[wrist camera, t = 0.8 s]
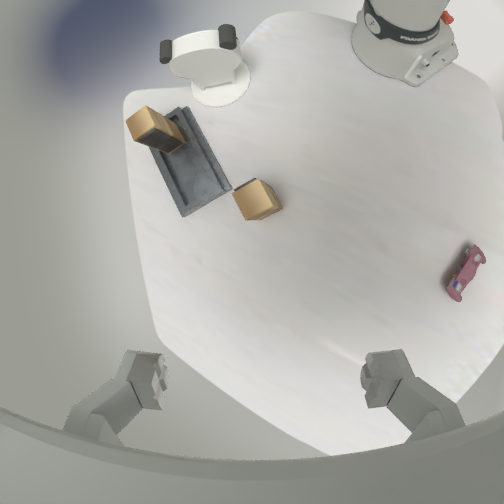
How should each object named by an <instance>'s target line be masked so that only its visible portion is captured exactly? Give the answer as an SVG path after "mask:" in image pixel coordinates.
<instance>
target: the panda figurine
mask: <svg viewBox="0 0 504 504" xmlns="http://www.w3.org/2000/svg"><path fill="white" fill-rule="evenodd" d="M160 62H161V63H162V64H166V63H169V67H170V70H171V72H172V73H173V74H174V75H176V76H178V77H181V78H187V79H192V82H191V89H192V92H193V95H194V96H195V98H196V99H197V100H198V101H199V102H200V103H202V104H204V105H206V106H210V107H223V106H227V105H230V104H232V103H234V102H236V101H237V100H238V99H240V98H241V97H242V96H243V95H244V93H245V92H246V91H247V89H248V87H249V84H250V80H251V74H250V70H249V68H248V66H247V64H246V63H245V62H244V61H243V60H242V59H241V56H240V46H239V41H238V38H237V37H236V31H235V27H234V26H232V25H229V24H224V25H221V26H220V27H219V28H218V30H205V31H199V32H194V33H190V34H187V35H184V36H182V37H179V38H177V39H176V40H174V41H173V42H172V41H171V40H164V41H161V43H160Z"/></svg>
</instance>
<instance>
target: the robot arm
mask: <svg viewBox="0 0 504 504" xmlns="http://www.w3.org/2000/svg"><path fill="white" fill-rule="evenodd" d="M449 1H450V0H365V2H364V5H363V8H362V10H361V11H359V12H358V14H357V25H356V27H355V29H354V30H353V33H352V37H351V41H352V46H353V49H354V51H355V53H356V55H357V56H358V58H359V59H360V60H361V61H362V62H363V63H364V64H365V65H366V66H367V67H369V68H370V69H372V70H373V71H375V72H377V73H379V74H381V75H384V76H387V77H391V78H397V79H400V80H402V81H404V82H406V83H408V84H409V85H411V86H414V87H417V86H419V85H421V84H422V83H423V82H425V81H426V80H427V79H429V78H430V77H431V76H433V75H434V74H435V73H437V72H438V71H439V70H441V69H442V68H444V67H445V66H446V65H448V64H449V63H450V62H452V61H453V60H454V59H456V58H457V56H458V50H457V47H456V44H455V42H454V35H453V32H452V30H451V28H450V26H449V25H448V24H450V23H452V22H453V20H454V19H453V18H452V17H451V16H450V15H449V14H448V12H447V11H444V10H445V8H446V6H447V4H448V2H449ZM417 76H419V77H420V79H419V78H417ZM365 360H366V364H365V365H364V366H363V367H362V370H361V377H360V379H361V385H362V388H363V389H365V390H366V391H367V392H366V394H365V399H366V402H367V406H368V408H376V407H384V406H387V408H388V409H389V410H390V411H391V412H392V413H393V414H394V415H395V416H396V417H397V418H398V419H399V420H400V421H401V422H402V423H403V424H404V425H405V426H406V427H407V428H408V429H409V430H410V431H411V432H412V434H411V435H410V436H409V438H408V439H407V440H406V442H405V443H404V444H400V445H395V446H390V447H385V448H380V449H375V450H369V451H363V452H357V453H350V454H343V455H334V456H326V457H314V458H301V459H281V460H232V459H213V458H212V459H211V458H200V457H188V456H180V455H171V454H164V453H158V452H151V451H145V450H139V449H134V448H129V447H124V445H123V444H122V442H121V441H120V439H119V438H118V437H117V434H118V433H119V432H120V431H121V430H122V429H123V428H124V427H125V426H126V425H127V424H128V423H129V422H130V421H131V420H132V419H133V418H134V417H135V416H136V415H137V414H138V413H139V412H140V411H141V410H142V408H146V409H156V410H162V407H163V403H164V398H165V396H164V394H163V392H164V391H165V390H166V389H167V386H168V379H169V375H168V369H167V367H166V366H165V365H164V362H165V359H164V356H163V354H158V353H150V352H141V351H131V350H127V351H126V352H125V354H124V356H123V359H122V361H121V364H120V366H119V369H118V371H117V374H116V376H115V379H110V380H109V381H108V382H106V383H105V384H103V385H102V386H101V387H99V388H98V389H97V390H95V391H94V392H92V393H91V394H90V395H88V396H87V397H86V398H84V399H83V400H81V401H80V402H79V403H77V404H76V405H74V406H73V407H72V409H71V411H70V413H69V416H68V418H67V420H66V423H65V425H64V428H63V430H59V429H56V428H53V427H50V426H47V425H44V424H41V423H39V422H36V421H33V420H31V419H28V418H26V417H23V416H21V415H18V414H16V413H13V412H11V411H9V410H7V409H4V408H1V407H0V504H504V411H503V412H500V413H498V414H495V415H493V416H491V417H488V418H485V419H483V420H480V421H477V422H475V423H472V424H469V425H465V423H464V421H463V418H462V416H461V414H460V412H459V409H458V407H457V405H456V404H455V403H454V402H453V401H451V400H450V399H448V398H447V397H446V396H444V395H443V394H441V393H440V392H439V391H437V390H436V389H434V388H433V387H432V386H430V385H429V384H428V383H426V382H425V381H423V380H422V379H421V378H419V377H415V375H414V373H413V371H412V369H411V366H410V364H409V362H408V360H407V358H406V356H405V353H404V351H403V350H402V349H399V350H391V351H381V352H372V353H368V354H367V356H366V358H365Z"/></svg>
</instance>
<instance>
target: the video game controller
mask: <svg viewBox="0 0 504 504" xmlns="http://www.w3.org/2000/svg"><path fill="white" fill-rule="evenodd" d="M468 249H469V248H468ZM468 249H467V250H466V251H465V254H466V253H467V256H466V259H465V261H464V262H463V264H462V266H461V267H462V270H461V271H460V272H459V271H458V272H457V273H456V274H455V273H454V274H453V276H452V277H453V278H452V279H451V281H450V282H449V284H448V287H447V288H446V291H448V293H449V295H450V297H451V298H452V299H454V300H455V301H457V302H461V301H462V297H461V295H460V293H461V292H462V291H463V290H464V288H465V287H466V285H467V284H468V283H469V282H470V281H471V280H472V279H473V278H474V276H475V274H476V270H477V268H478V266H479V264H480V263H482V264H485V263H486V258H485V256H484V254H483V252H482V251H481V250H480V249H479V247H477V246H476V245H474V246H473V247H472V248H471V249H469V250H468Z"/></svg>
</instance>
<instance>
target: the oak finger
mask: <svg viewBox="0 0 504 504" xmlns="http://www.w3.org/2000/svg"><path fill="white" fill-rule="evenodd" d="M234 191H235V192H233V193H232V195H233V197H234V199H235V201H236V203H237V205H238V207H239V208H240V210H241V212H242V214H243V216H244V218H245V220H262V219H264V218H266V217H267V216H269V215H271V214H273V213H275V212H277V211H279V210H281V209H282V206H281V204H280V203H279V201H278V199H277V197H276V195H275V193H274V191H273V190H272V188H271V187H270V186H269V185H267V184H266V183H264V182H263V181H261V180H260V179H256V178H254V179H252V180H250V181H248V182H246V183H245V184H243V185H241V186H239V187H238V188H236V189H234Z"/></svg>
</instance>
